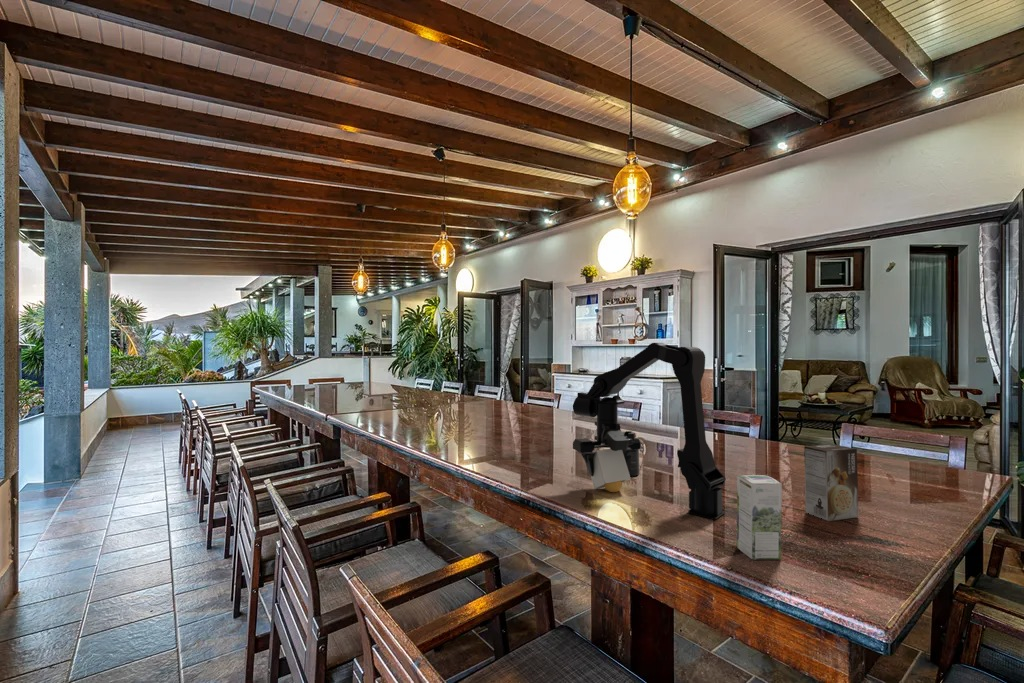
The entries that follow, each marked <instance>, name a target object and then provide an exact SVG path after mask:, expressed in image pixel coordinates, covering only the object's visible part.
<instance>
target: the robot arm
mask: <svg viewBox="0 0 1024 683" xmlns="http://www.w3.org/2000/svg"><path fill="white" fill-rule="evenodd" d="M658 361H662V362H663V363H667V364H669V365H670V364H671V366H672V371H673V373H674V375H675V378H676V379H677V382H679V387H680V395H681V396H680V398H681V408H682V419H683V429H684V430H683V431H684V446H683V448H681V449H677V451H676V455H677V459H678V465H677V468H680V473H681V475H682V476H683V477H684V478H685V482H686V484H687V487H688V489H689V491H688V508H689V510H688V511H687V513H688V514H691V515H693V516H698V517H702V518H706V519H711V520H717V519H718V518H719V517H721V516H723V515H724V514H725V513H726V511H725V510H723V488H722V487H724V485H725V482H726V479H727V478H726V477H725V475H724V474H723V473H722V472H721V471H720V470H719V468H718V467H717V465H716V463H715V458H714V455H713V451H712V450H711V448H710V446H709V445H708V441H707V439H706V426H705V417H704V407H703V406H704V404H703V397H702V396H703V395H702V384H701V382H702V379H703V377H704V374H705V371H706V370H705V369H706V354H705V353H704V351H703V350H702V349H701V348H699V347H695V346H674V345H669V344H665V343H664V342H651V343H650V344H649V345H647V347H645V348H644V349H643V350H641V351H640V352H639V353H637V354H635V355H634V356H633V357H631V358H630V359H628V360H627V361H625V362H624V363H623V364H621V365H619V367H617V368H614V369H612V370H609V371H606V372H603V373H601V374H599V375H596V377H594V379H593V384H592V385H591V387H590V388H589V390H588V392H587V393H586V392H577V397H575V399H574V401H573V404H572V410H573V413H574V414H575V415H576V416H581V417H588V418H595V417H596V421H594V426H595V427H596V435H595V436H594V440H590V439H588V438H586V437H585V438H575V439H574V440H573V442H572V449H573V450H574V451H576V452H577V453H580V455H581V457H582V458H583V461H584V462H585V465H586V467H587V470H588V473H589V476H590V477H591V476H593V475H594V462H593V458H594V455H595V453H594V450H595V449H600V448H601V449H604V448H605V449H606V448H609V449H611V450H613V451H618V450H622V451H623V455H624V458H625V461H626V464H627V462H628V459H629V457H630V456H631V455H632V454H633V453H634V452H637V450H635V449H639V450H641V449H642V442H641V440H640V439H639V438H637V437H636V436H635V432H633V431H632V430H625V431H622V429H621V424H620V423H618V413H619V412H618V408H619V407H618V405H624V404H625V401H624V400H623V399H622V397H620V395H618V394H619V392H621V391H623V389H624V388H625V387H626V386H627V383H628V382H629V381H630V380H631V379H632V378H634V377H636V376H637V375H639V374H640V373H642V372H643V371H644V370H646V369H648V368H649V367H651V366H652V365H653V364H655V363H657V362H658ZM612 395H613V396H612ZM610 396H612V397H610ZM601 398H602V399H601ZM634 436H635V437H634Z"/></svg>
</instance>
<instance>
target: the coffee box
mask: <svg viewBox="0 0 1024 683" xmlns="http://www.w3.org/2000/svg"><path fill="white" fill-rule="evenodd" d="M803 450H804V451H803V452H804V491H805V492H804V493H805V501H804V502H805V514H808V513H809V515H811V516H813V515H814V517H815V518H819V519H821V518H822V520H824V521H827V522H832V521H838V520H839V521H841V520H847V519H856V518H859V488H858V487H859V482H858V480H859V477H858V448H854V447H849V446H844V445H839V444H833V443H832V444H816V445H804V447H803Z"/></svg>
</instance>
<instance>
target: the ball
mask: <svg viewBox="0 0 1024 683" xmlns="http://www.w3.org/2000/svg"><path fill="white" fill-rule="evenodd" d="M622 486H623V483H622V481H617V482H612V483H606V484H605V485H604V488H605V490H606V491H608V492H610V493H617V492H619V491H620V490H621V489H622Z"/></svg>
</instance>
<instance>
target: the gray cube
mask: <svg viewBox="0 0 1024 683" xmlns="http://www.w3.org/2000/svg"><path fill="white" fill-rule="evenodd" d="M593 453H595V455H594V458H593V462H594V475H593V476H591V475H590V478H591V482H592V486H593V489H594V490H598V488H599V489H603V488H605V487H604V485H605V484H606V483H612V482H617V481H622V484H623V483H625V482H627V481H629V480H631V479H632V477H630V474H629V471H628V468H627V464H626V461H625V458H624V455H623V451H622V450H618V451H613V450H611V449H610V448H607V449H606V448H605V449H600V450H596V451H593Z"/></svg>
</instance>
